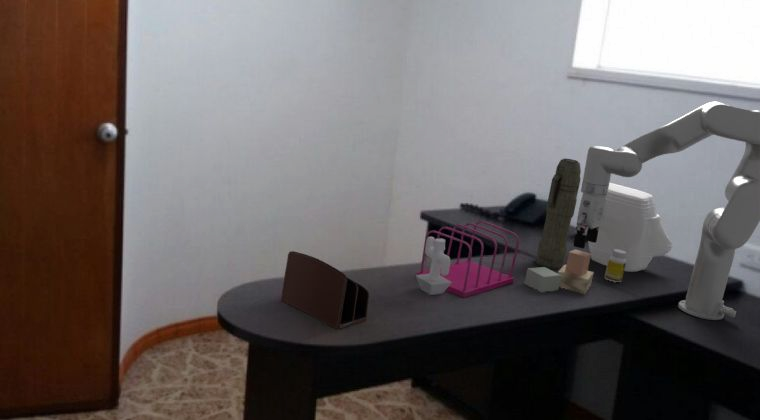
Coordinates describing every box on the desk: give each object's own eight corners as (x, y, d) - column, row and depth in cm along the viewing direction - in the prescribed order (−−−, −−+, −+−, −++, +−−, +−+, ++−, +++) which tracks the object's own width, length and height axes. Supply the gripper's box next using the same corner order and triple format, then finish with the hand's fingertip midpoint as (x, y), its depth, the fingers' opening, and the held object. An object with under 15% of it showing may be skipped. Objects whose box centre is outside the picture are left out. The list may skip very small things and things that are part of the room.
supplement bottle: (622, 284, 237) (629, 255, 235) (604, 281, 238) (611, 251, 236) (620, 279, 242) (627, 250, 240) (603, 275, 243) (610, 247, 241)
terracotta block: (586, 272, 228) (591, 254, 226) (580, 275, 224) (584, 256, 222) (571, 267, 230) (575, 249, 229) (565, 270, 226) (569, 251, 225)
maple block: (590, 287, 230) (593, 272, 229) (584, 295, 222) (588, 279, 221) (561, 279, 234) (564, 264, 233) (554, 287, 226) (558, 271, 225)
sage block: (557, 291, 222) (561, 275, 221) (540, 292, 219) (543, 276, 217) (541, 282, 228) (544, 267, 227) (524, 284, 224) (527, 268, 223)
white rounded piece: (597, 249, 274) (613, 180, 267) (667, 274, 255) (685, 201, 249) (565, 256, 259) (581, 183, 253) (637, 282, 241) (655, 205, 234)
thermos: (527, 261, 246) (548, 157, 237) (548, 257, 254) (569, 156, 245) (549, 270, 240) (571, 164, 231) (570, 266, 248) (592, 163, 239)
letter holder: (337, 330, 173) (345, 273, 169) (280, 301, 185) (286, 247, 182) (366, 321, 180) (374, 266, 177) (309, 293, 193) (315, 241, 189)
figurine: (432, 299, 201) (441, 245, 197) (410, 286, 208) (419, 234, 204) (452, 296, 205) (461, 244, 201) (431, 283, 212) (439, 233, 209)
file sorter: (513, 283, 223) (523, 233, 219) (463, 298, 205) (473, 244, 201) (466, 265, 234) (475, 216, 230) (415, 277, 216) (423, 225, 212)
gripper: (596, 195, 211) (586, 253, 216) (617, 187, 225) (607, 242, 229) (571, 189, 216) (561, 246, 220) (593, 182, 229) (583, 236, 234)
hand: (584, 244), depth 225 cm, fingers open, 9 cm apart
